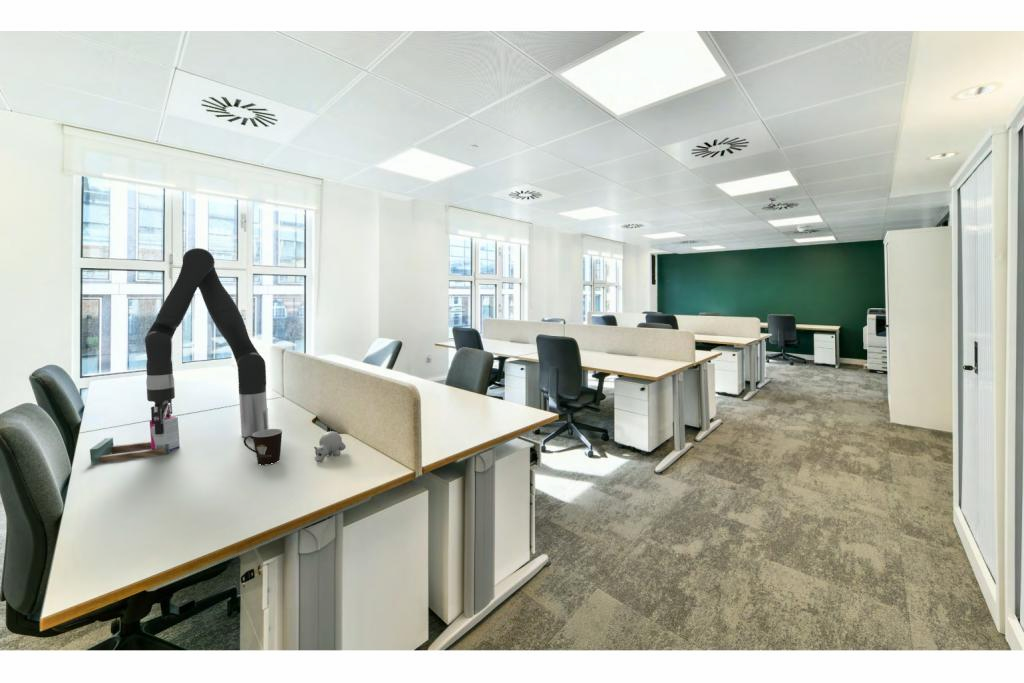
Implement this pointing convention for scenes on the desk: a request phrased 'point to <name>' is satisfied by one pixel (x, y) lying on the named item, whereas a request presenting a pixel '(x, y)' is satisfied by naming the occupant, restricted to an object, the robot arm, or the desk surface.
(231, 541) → the desk surface
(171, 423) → the supplement box
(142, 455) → the guide lane
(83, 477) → the desk surface
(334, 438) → the chubby cartoon animal
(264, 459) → the coffee mug
